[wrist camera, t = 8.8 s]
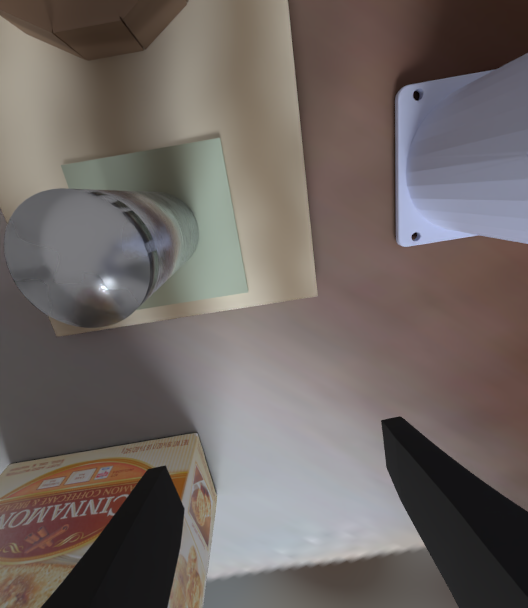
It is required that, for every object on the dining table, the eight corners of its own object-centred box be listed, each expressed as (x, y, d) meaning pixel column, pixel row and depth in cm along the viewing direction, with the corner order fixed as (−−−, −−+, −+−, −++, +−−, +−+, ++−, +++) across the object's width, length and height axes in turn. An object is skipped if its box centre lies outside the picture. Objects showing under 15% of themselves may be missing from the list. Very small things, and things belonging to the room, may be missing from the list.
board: (248, -348, 11) (245, -591, 7) (314, 291, 19) (326, 311, 16) (-180, -255, 11) (-364, -445, 8) (66, 330, 19) (27, 357, 16)
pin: (189, 186, 15) (126, 177, 8) (206, 262, 17) (166, 318, 9) (113, 198, 15) (-23, 201, 8) (135, 273, 17) (38, 336, 9)
